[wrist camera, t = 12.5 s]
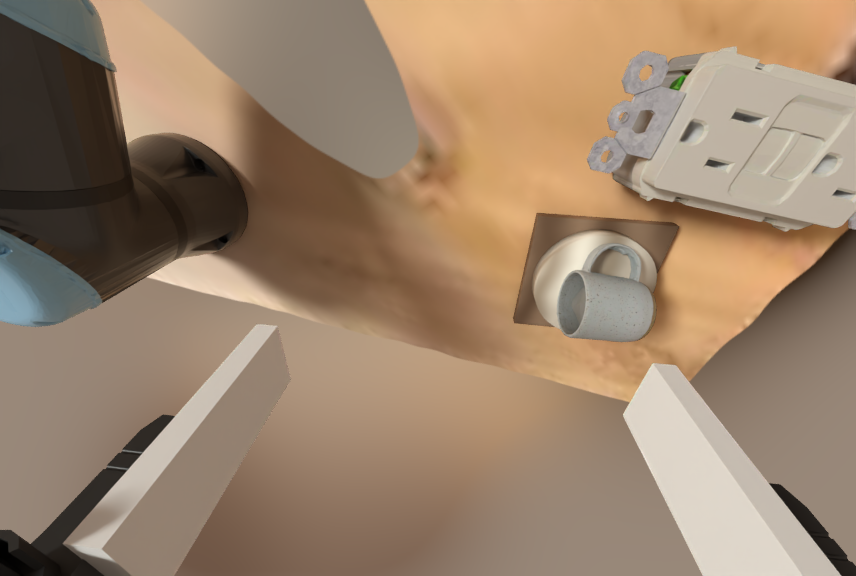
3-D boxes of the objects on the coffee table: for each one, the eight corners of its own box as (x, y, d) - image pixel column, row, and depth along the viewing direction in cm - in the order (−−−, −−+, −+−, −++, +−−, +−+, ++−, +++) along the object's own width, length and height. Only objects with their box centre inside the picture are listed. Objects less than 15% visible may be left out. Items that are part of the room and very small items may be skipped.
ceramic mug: (615, 319, 42) (643, 360, 35) (551, 311, 42) (567, 350, 35) (651, 243, 36) (692, 275, 30) (577, 235, 37) (602, 264, 30)
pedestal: (513, 318, 48) (516, 333, 44) (536, 212, 39) (542, 222, 36) (625, 328, 46) (636, 345, 43) (673, 222, 38) (691, 234, 35)
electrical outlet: (599, 37, 30) (662, 16, 21) (869, 107, 32) (1025, 114, 23) (549, 167, 36) (583, 190, 27) (779, 219, 38) (876, 256, 29)
